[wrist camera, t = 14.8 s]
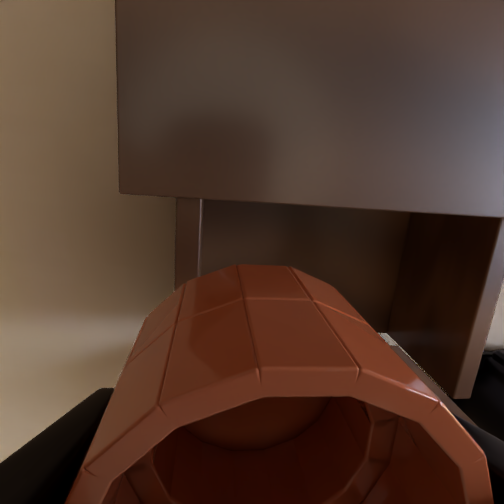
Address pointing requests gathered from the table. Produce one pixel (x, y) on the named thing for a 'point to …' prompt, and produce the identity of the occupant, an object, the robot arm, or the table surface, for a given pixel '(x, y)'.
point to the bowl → (273, 406)
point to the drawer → (369, 271)
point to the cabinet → (314, 102)
